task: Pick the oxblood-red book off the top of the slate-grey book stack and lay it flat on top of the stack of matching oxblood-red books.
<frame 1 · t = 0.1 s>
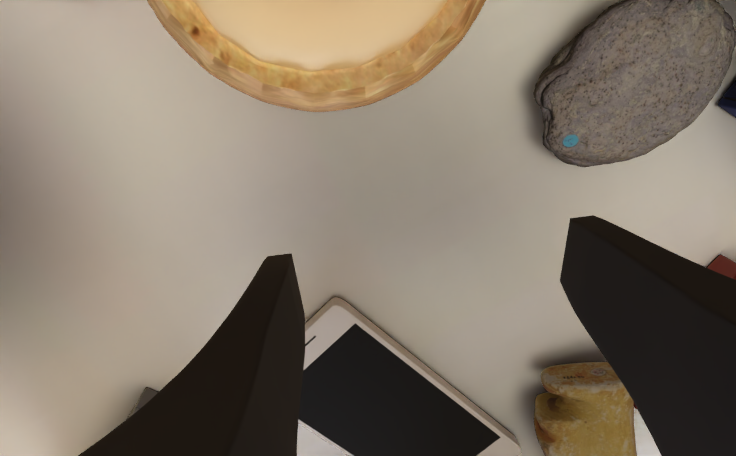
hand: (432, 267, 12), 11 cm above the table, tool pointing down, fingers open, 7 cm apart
smartphone: (391, 408, 28), on the table
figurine: (582, 454, 29), point 1 cm above the table, touching oxblood stack
oxblood stack: (690, 336, 27), on the table
stone: (613, 83, 21), on the table
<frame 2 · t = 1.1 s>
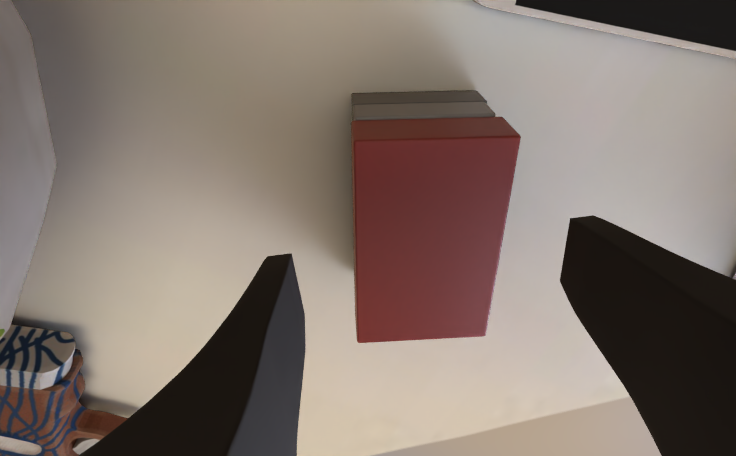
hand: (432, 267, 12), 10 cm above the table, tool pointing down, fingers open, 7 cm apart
oxblood book: (420, 224, 19), point 3 cm above the table, touching grey stack
handgun: (155, 376, 25), point 2 cm above the table
grey stack: (409, 191, 22), on the table
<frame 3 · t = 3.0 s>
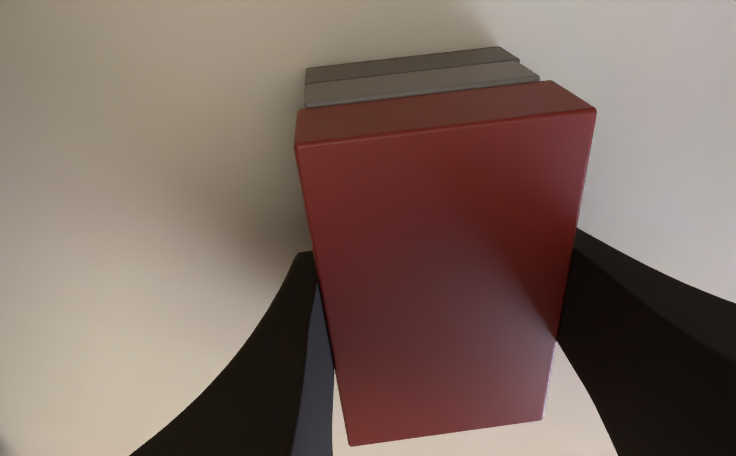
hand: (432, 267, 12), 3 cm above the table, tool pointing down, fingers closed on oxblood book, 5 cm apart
oxblood book: (429, 263, 12), point 3 cm above the table, touching grey stack, gripper
grey stack: (410, 207, 15), on the table
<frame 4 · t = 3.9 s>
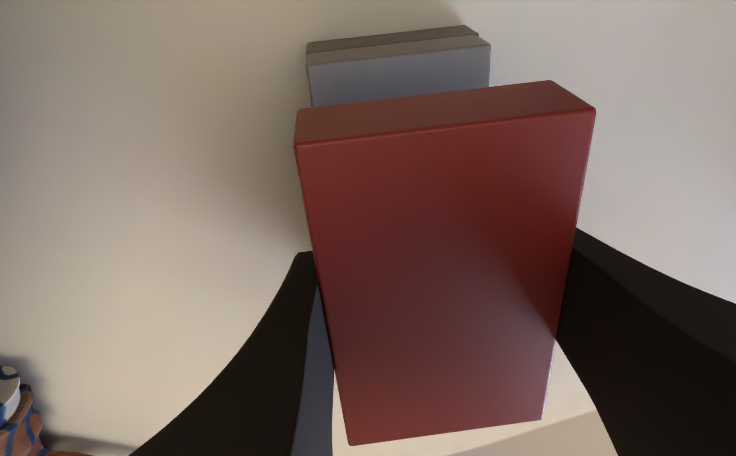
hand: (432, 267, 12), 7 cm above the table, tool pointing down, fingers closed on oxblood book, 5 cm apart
oxblood book: (429, 262, 12), point 6 cm above the table, touching gripper
handgun: (117, 410, 21), point 2 cm above the table
grey stack: (394, 163, 18), on the table
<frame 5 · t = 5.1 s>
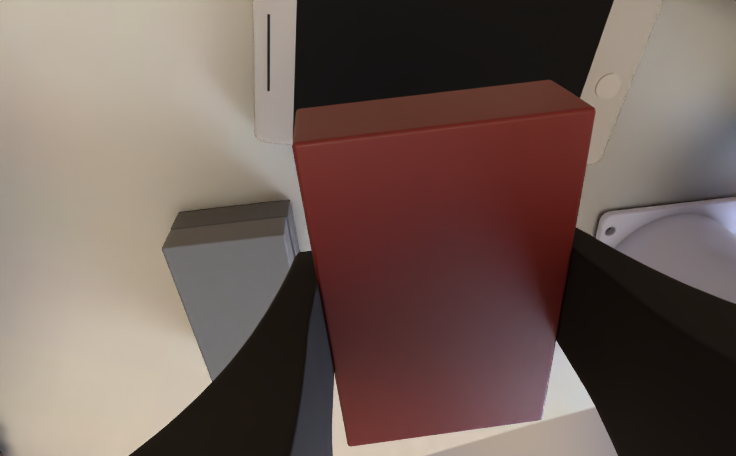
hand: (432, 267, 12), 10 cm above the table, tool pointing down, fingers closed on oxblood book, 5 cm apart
smartphone: (446, 65, 20), on the table
oxblood book: (428, 262, 12), point 10 cm above the table, touching gripper
grey stack: (254, 282, 25), on the table
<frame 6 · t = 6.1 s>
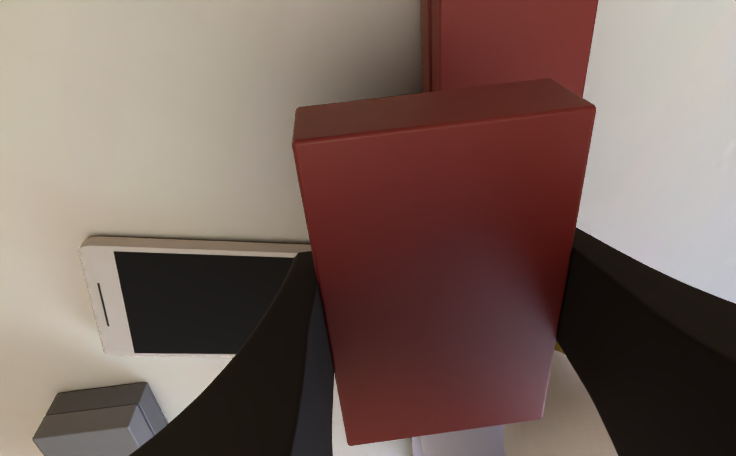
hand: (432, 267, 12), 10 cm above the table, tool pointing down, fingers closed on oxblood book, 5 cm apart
smartphone: (253, 295, 25), on the table
light bulb: (524, 318, 28), on the table, touching arm
oxblood book: (428, 261, 12), point 10 cm above the table, touching gripper
grey stack: (129, 435, 30), on the table
oxblood stack: (489, 7, 19), on the table
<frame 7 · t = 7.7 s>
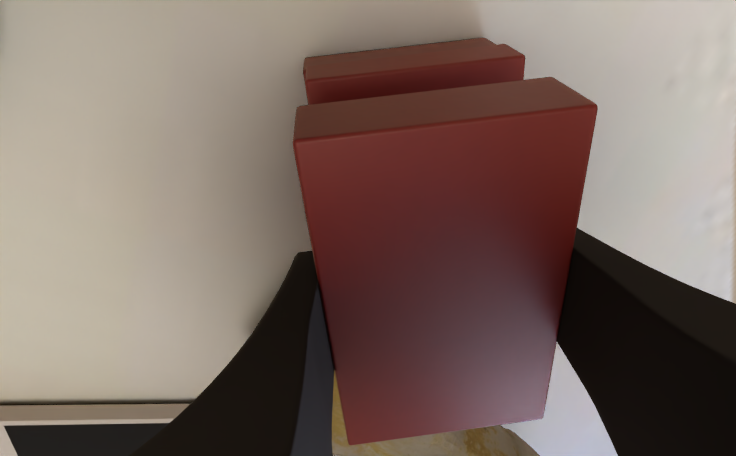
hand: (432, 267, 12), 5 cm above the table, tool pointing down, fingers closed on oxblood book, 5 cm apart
smartphone: (173, 447, 23), on the table
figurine: (412, 381, 21), point 1 cm above the table, touching oxblood stack
oxblood book: (429, 261, 12), point 5 cm above the table, touching gripper
oxblood stack: (402, 181, 17), on the table
when the fingers open (3 cm above the table, at t = 8.8 s): oxblood book stays where it is, resting on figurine, oxblood stack.
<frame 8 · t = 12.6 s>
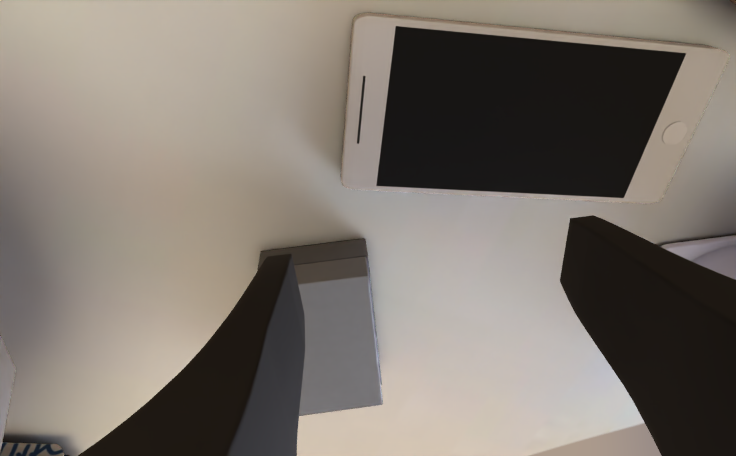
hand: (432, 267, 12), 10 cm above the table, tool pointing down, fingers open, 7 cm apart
smartphone: (520, 115, 21), on the table
grey stack: (325, 313, 26), on the table
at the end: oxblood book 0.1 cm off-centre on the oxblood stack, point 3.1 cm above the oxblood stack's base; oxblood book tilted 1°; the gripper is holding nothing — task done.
